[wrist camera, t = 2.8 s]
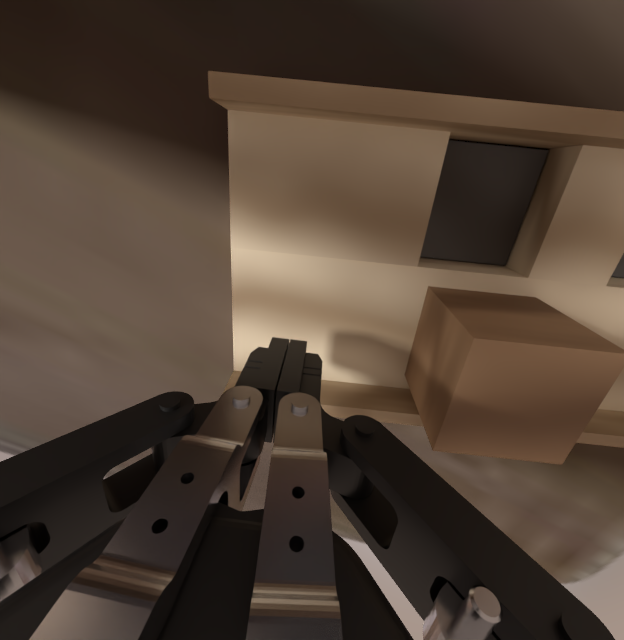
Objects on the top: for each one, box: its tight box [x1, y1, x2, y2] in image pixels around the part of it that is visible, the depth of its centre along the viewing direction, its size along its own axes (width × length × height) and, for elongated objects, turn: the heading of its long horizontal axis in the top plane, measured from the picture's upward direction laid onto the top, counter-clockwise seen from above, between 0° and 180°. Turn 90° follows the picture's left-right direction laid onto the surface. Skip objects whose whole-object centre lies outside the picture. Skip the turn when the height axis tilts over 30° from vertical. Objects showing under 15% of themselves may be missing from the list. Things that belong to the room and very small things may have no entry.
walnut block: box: [404, 286, 624, 464], centre depth 13 cm, size 5×5×5 cm
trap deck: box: [208, 71, 624, 448], centre depth 14 cm, size 13×28×5 cm, turn 85°
